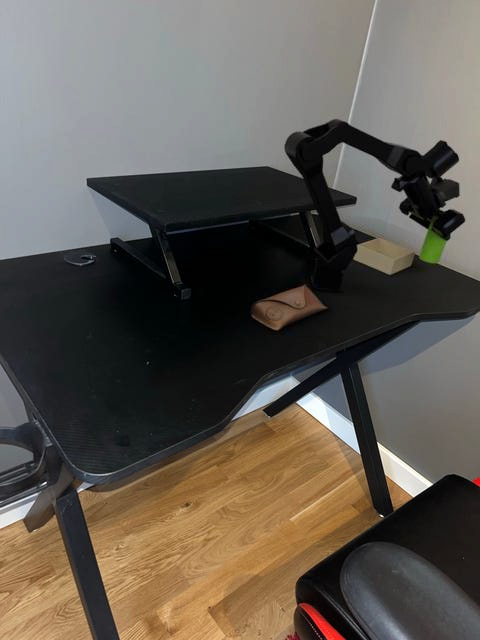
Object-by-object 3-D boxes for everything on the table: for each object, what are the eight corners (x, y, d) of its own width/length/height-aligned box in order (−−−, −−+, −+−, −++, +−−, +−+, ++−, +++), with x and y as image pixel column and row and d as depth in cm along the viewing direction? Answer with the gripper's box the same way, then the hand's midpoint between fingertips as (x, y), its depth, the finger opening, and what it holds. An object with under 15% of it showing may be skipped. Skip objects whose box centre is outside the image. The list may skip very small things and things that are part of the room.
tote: (389, 275, 127) (394, 260, 124) (353, 259, 134) (356, 245, 131) (410, 265, 134) (415, 251, 132) (375, 251, 141) (379, 237, 139)
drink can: (424, 262, 118) (440, 216, 112) (415, 254, 123) (430, 209, 117) (442, 263, 119) (459, 217, 113) (433, 256, 124) (449, 211, 117)
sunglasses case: (278, 331, 93) (270, 299, 92) (255, 333, 99) (247, 303, 98) (330, 307, 105) (323, 279, 104) (306, 310, 110) (300, 283, 109)
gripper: (474, 178, 100) (494, 227, 109) (423, 159, 116) (444, 203, 124) (432, 213, 102) (455, 258, 111) (387, 189, 117) (411, 230, 126)
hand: (441, 235), depth 118 cm, fingers closed on drink can, 5 cm apart
